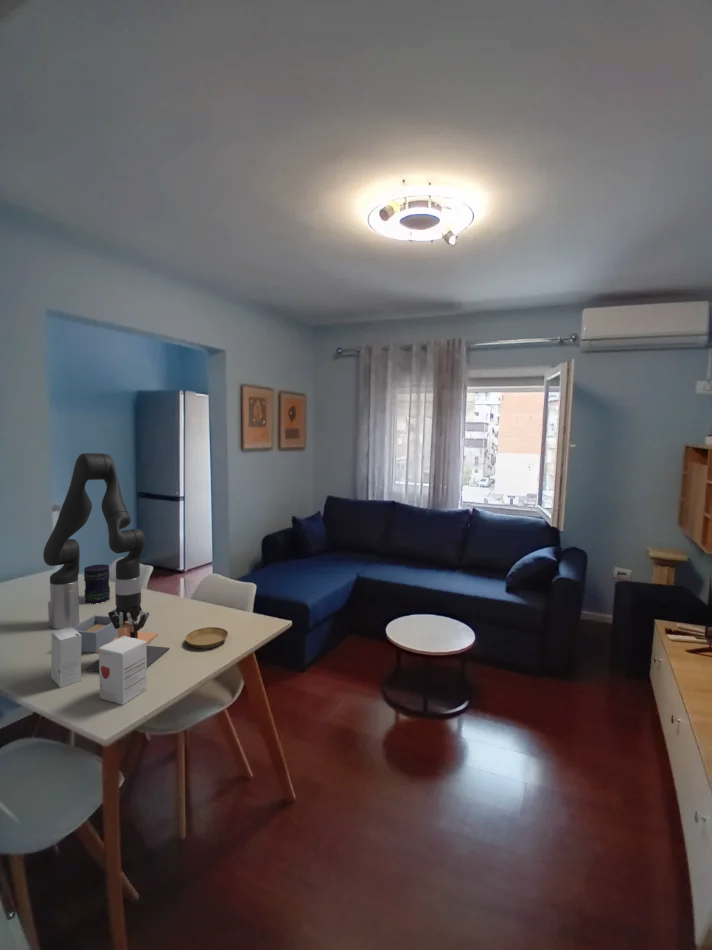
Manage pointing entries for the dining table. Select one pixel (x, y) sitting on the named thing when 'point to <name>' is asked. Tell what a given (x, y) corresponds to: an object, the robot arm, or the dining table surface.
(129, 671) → the supplement box
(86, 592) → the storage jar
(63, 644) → the skincare box
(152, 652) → the black rubber mat
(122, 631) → the peach handled lid
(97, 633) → the slate storage box
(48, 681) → the dining table surface
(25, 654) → the dining table surface
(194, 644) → the plant saucer
